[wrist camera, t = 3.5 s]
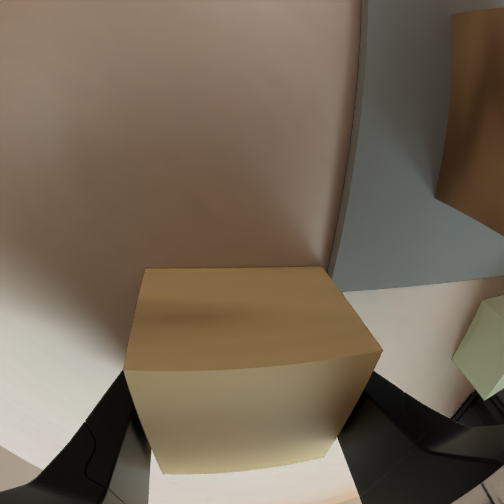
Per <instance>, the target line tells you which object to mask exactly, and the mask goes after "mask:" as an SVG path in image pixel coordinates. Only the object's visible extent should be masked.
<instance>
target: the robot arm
mask: <svg viewBox="0 0 504 504" xmlns="http://www.w3.org/2000/svg"><path fill="white" fill-rule="evenodd" d="M85 421H86V422H84V423H83V424H82V426H81V427H80V429H79V430H78V431H77V433H76V434H75V435H74V436H73V438H72V439H71V440H70V442H69V443H68V444H67V445H66V446H65V447H64V448H63V450H62V451H61V452H60V453H59V454H58V455H57V456H56V457H55V458H54V459H53V460H52V462H51V463H50V464H49V465H48V466H47V467H46V468H45V469H44V470H43V471H42V472H41V473H40V474H39V475H38V476H37V477H36V478H35V479H34V480H32V481H31V482H29V483H27V484H25V485H22V486H19V487H16V488H13V489H9V490H6V491H2V492H0V504H148V495H149V476H150V461H151V446H150V444H149V442H148V439H147V437H146V434H145V432H144V429H143V426H142V424H141V421H140V419H139V416H138V413H137V410H136V408H135V405H134V402H133V399H132V396H131V393H130V390H129V387H128V384H127V381H126V378H125V374H124V371H123V370H122V372H121V373H120V374H119V376H118V377H117V378H116V380H115V381H114V382H113V384H112V385H111V386H110V388H109V389H108V390H107V392H106V393H105V394H104V396H103V397H102V398H101V400H100V401H99V403H98V404H97V405H96V407H95V408H94V409H93V411H92V412H91V413H90V415H89V416H88V418H87V419H86V420H85ZM337 438H338V441H339V443H340V446H341V448H342V451H343V454H344V456H345V459H346V462H347V464H348V467H349V470H350V472H351V475H352V478H353V480H354V483H355V486H356V488H357V491H358V494H359V496H360V499H361V502H362V504H504V388H503V389H502V390H500V391H499V392H497V393H496V394H494V395H492V396H491V397H489V398H488V399H486V400H484V399H483V398H482V397H481V396H480V394H479V393H478V392H477V391H476V392H475V393H474V394H473V395H472V396H471V397H470V398H469V399H468V401H467V402H466V403H465V405H464V406H463V407H462V408H461V410H460V411H459V412H458V413H457V414H456V416H455V417H454V418H453V419H452V420H451V419H449V418H448V417H446V416H444V415H442V414H440V413H438V412H436V411H434V410H433V409H431V408H429V407H427V406H426V405H424V404H422V403H421V402H419V401H417V400H416V399H414V398H413V397H411V396H410V395H408V394H407V393H405V392H403V391H402V390H401V389H399V388H398V387H396V386H395V385H394V384H392V383H391V382H389V381H388V380H386V379H385V378H383V377H382V376H380V375H379V374H378V373H376V372H375V371H373V372H372V374H371V376H370V378H369V380H368V382H367V384H366V386H365V388H364V390H363V392H362V394H361V396H360V398H359V399H358V401H357V403H356V405H355V407H354V409H353V410H352V412H351V414H350V416H349V417H348V419H347V421H346V423H345V424H344V426H343V428H342V429H341V431H340V433H339V434H338V436H337Z"/></svg>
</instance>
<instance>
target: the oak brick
mask: <svg viewBox="0 0 504 504" xmlns="http://www.w3.org/2000/svg"><path fill="white" fill-rule="evenodd" d="M382 351H383V349H382V348H381V346H380V345H379V344H378V342H377V341H376V339H375V338H374V337H373V335H372V334H371V332H370V331H369V330H368V328H367V327H366V325H365V324H364V323H363V321H362V320H361V318H360V317H359V316H358V314H357V313H356V312H355V310H354V309H353V308H352V306H351V305H350V303H349V302H348V301H347V299H346V298H345V297H344V295H343V294H342V293H341V291H340V290H339V289H338V287H337V286H336V285H335V283H334V282H333V281H332V279H331V278H330V277H329V275H328V274H327V273H326V271H325V270H324V269H323V267H322V266H314V267H262V268H145V272H144V276H143V280H142V284H141V288H140V292H139V296H138V300H137V305H136V309H135V313H134V318H133V322H132V327H131V332H130V337H129V342H128V347H127V352H126V357H125V363H124V368H123V371H124V374H125V378H126V381H127V384H128V387H129V390H130V393H131V396H132V399H133V402H134V405H135V408H136V410H137V413H138V416H139V419H140V421H141V424H142V426H143V429H144V432H145V434H146V437H147V439H148V442H149V444H150V446H151V449H152V451H153V453H154V456H155V458H156V460H157V462H158V465H159V467H160V469H161V471H162V473H163V474H210V473H226V472H238V471H247V470H256V469H263V468H270V467H277V466H283V465H289V464H294V463H299V462H304V461H309V460H314V459H318V458H322V457H324V456H325V455H326V453H327V452H328V450H329V449H330V447H331V445H332V444H333V442H334V441H335V439H336V437H337V436H338V434H339V433H340V431H341V429H342V428H343V426H344V424H345V423H346V421H347V419H348V417H349V416H350V414H351V412H352V410H353V409H354V407H355V405H356V403H357V401H358V399H359V398H360V396H361V394H362V392H363V390H364V388H365V386H366V384H367V382H368V380H369V378H370V376H371V374H372V372H373V370H374V368H375V366H376V364H377V362H378V360H379V358H380V356H381V353H382Z"/></svg>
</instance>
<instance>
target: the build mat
mask: <svg viewBox="0 0 504 504" xmlns="http://www.w3.org/2000/svg"><path fill="white" fill-rule="evenodd" d="M503 7H504V0H362V8H361V36H360V53H359V68H358V80H357V91H356V101H355V110H354V119H353V127H352V135H351V143H350V150H349V157H348V164H347V171H346V177H345V183H344V190H343V195H342V201H341V207H340V213H339V218H338V223H337V229H336V234H335V239H334V244H333V249H332V253H331V258H330V263H329V267H328V272H327V274H328V275H329V277H330V278H331V279H332V281H333V282H334V283H335V285H336V286H337V287H338V289H339V290H340V291H341V292H344V291H359V290H372V289H385V288H397V287H408V286H419V285H429V284H439V283H448V282H457V281H466V280H474V279H482V278H490V277H498V276H504V237H503V236H502V235H500V234H499V233H497V232H495V231H494V230H492V229H490V228H489V227H487V226H485V225H483V224H482V223H480V222H478V221H476V220H475V219H473V218H471V217H469V216H467V215H466V214H464V213H462V212H460V211H458V210H456V209H454V208H453V207H451V206H449V205H447V204H445V203H443V202H441V201H439V200H437V199H435V198H434V197H435V193H436V188H437V183H438V178H439V173H440V168H441V163H442V157H443V151H444V144H445V137H446V130H447V122H448V113H449V103H450V90H451V72H452V26H451V14H454V13H460V12H466V11H473V10H481V9H491V8H503Z"/></svg>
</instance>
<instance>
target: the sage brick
mask: <svg viewBox="0 0 504 504" xmlns="http://www.w3.org/2000/svg"><path fill="white" fill-rule="evenodd" d="M451 360H452V361H453V362H454V363H455V364H456V366H457V367H458V368H459V369H460V370H461V372H462V373H463V374H464V375H465V377H466V378H467V379H468V380H469V382H470V383H471V384H472V385H473V387H474V388H475V389H476V390H477V392H478V393H479V394H480V396H481V397H482V398H483V399H484V400H486V399H488V398H489V397H491V396H492V395H494V394H496V393H497V392H499V391H500V390H502V389H503V388H504V295H501V296H497V297H492V298H488V299H484V300H482V302H481V304H480V306H479V308H478V310H477V312H476V314H475V316H474V318H473V320H472V322H471V324H470V326H469V328H468V330H467V332H466V334H465V336H464V338H463V340H462V342H461V343H460V345H459V347H458V349H457V350H456V352H455V354H454V356H453V357H452V359H451Z"/></svg>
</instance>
